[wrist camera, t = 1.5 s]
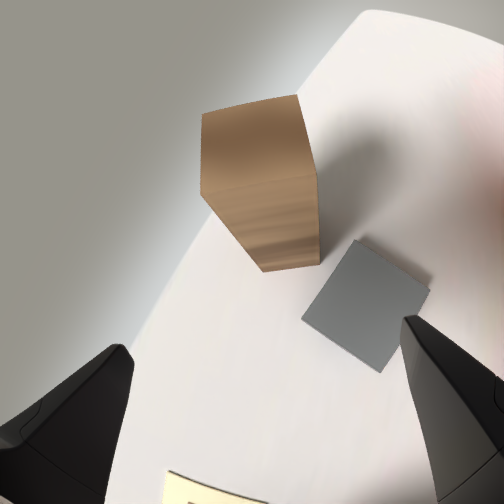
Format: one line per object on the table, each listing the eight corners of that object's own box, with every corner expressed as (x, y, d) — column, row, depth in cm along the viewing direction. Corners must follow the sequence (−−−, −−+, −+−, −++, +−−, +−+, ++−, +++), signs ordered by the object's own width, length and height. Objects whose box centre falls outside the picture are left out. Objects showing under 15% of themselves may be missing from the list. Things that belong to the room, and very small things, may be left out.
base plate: (424, 293, 20) (430, 289, 19) (376, 371, 19) (380, 373, 18) (352, 245, 22) (354, 239, 21) (302, 320, 22) (300, 318, 20)
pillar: (320, 264, 23) (316, 173, 10) (263, 272, 23) (200, 194, 11) (311, 212, 24) (296, 94, 12) (258, 220, 25) (202, 114, 13)
